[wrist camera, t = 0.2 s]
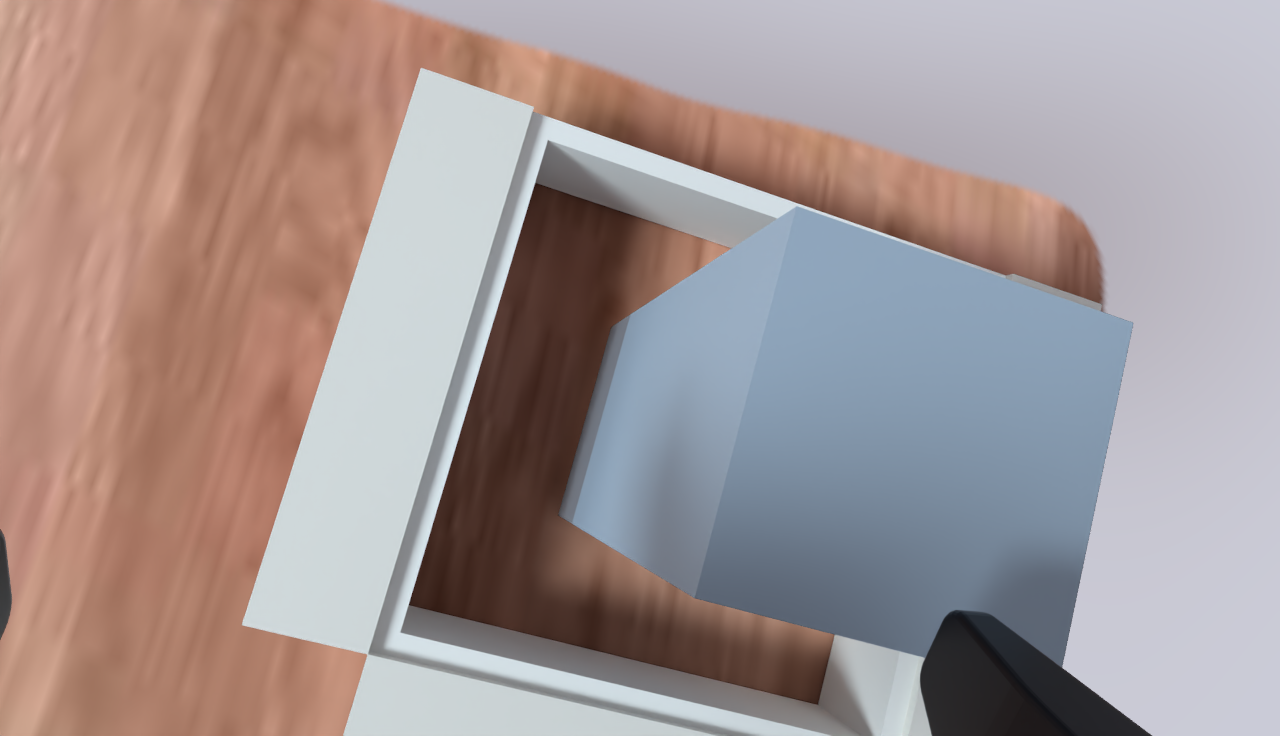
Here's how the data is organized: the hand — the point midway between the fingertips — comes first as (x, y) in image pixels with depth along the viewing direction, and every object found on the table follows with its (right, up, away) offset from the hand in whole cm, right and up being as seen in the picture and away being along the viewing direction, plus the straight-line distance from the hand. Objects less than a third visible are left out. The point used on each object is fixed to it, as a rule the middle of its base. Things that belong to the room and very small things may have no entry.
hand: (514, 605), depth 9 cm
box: (+2, 0, +16) cm, 16 cm away
